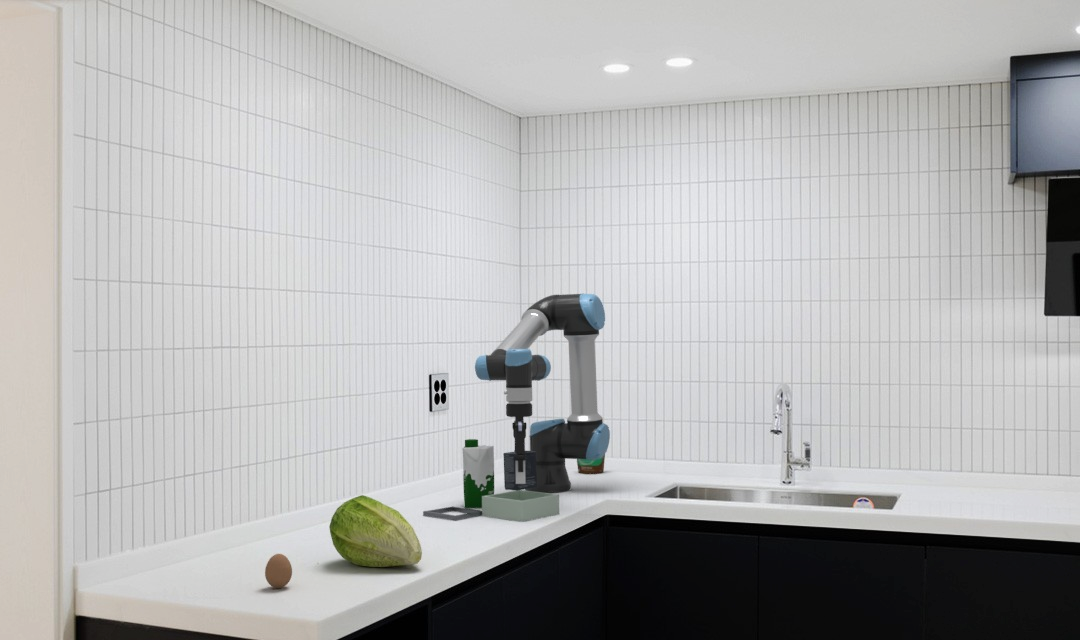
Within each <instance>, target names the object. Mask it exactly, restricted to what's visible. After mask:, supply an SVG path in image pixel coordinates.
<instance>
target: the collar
mask: <svg viewBox="0 0 1080 640" xmlns="http://www.w3.org/2000/svg"><path fill="white" fill-rule="evenodd" d="M449 512H456V513H462V514H456V515H454V514H449ZM447 513H448V514H447ZM422 516H423V517H428V518H437V519H442V520H449V521H456V522H457V521H461V520H467V519H473V518H476V517H483V516H482V509H481V510H480V509H476V508H465V507H459V506H452V505H451V506H446V507H441V508H435V509H429V510H424V511H422Z"/></svg>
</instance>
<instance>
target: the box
mask: <svg viewBox="0 0 1080 640" xmlns="http://www.w3.org/2000/svg"><path fill="white" fill-rule="evenodd" d="M525 456H526V458H525V484H516V461H513V458H516V452H514V451H507V452H503V473H504V474H503V475H504V478H503V480H504V483H503V484H504V490H508V491H517V490H526V489H530V488H537V474H536V452H535V451H530V450H525Z"/></svg>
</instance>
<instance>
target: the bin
mask: <svg viewBox="0 0 1080 640" xmlns="http://www.w3.org/2000/svg"><path fill="white" fill-rule="evenodd" d="M481 510H482V516H481V517H487V518H494V519H500V520H506V519H507V520H508V521H513V520H514V521H515V522H520V521H523V522H527V521H526V520H528V521H532V520H531V519H533V520H537V519H536V518H538V519H542V518H541V517H543V518H547V516H548V517H551V516H556V515H557V516H558V515H560V494H557V493H556V494H555V493H551V492H533V491H527V490H526V489H523V490H517V491H516V490H509V491H505V492H498V493H494V494H492V495H487V496H482V508H481ZM514 521H513V522H514Z"/></svg>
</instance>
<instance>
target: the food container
mask: <svg viewBox="0 0 1080 640" xmlns="http://www.w3.org/2000/svg"><path fill="white" fill-rule="evenodd" d="M607 452H608V450H607V451H606V453H607ZM605 456H606V454H605V455H604V456H603V457H602V458H601V459H592V460H587V459H576V463H577V472H578V474H580V475H581V474H582V475H598V474H599V475H600V474H604V473H605V472H604V470H605V459H606V457H605Z"/></svg>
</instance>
